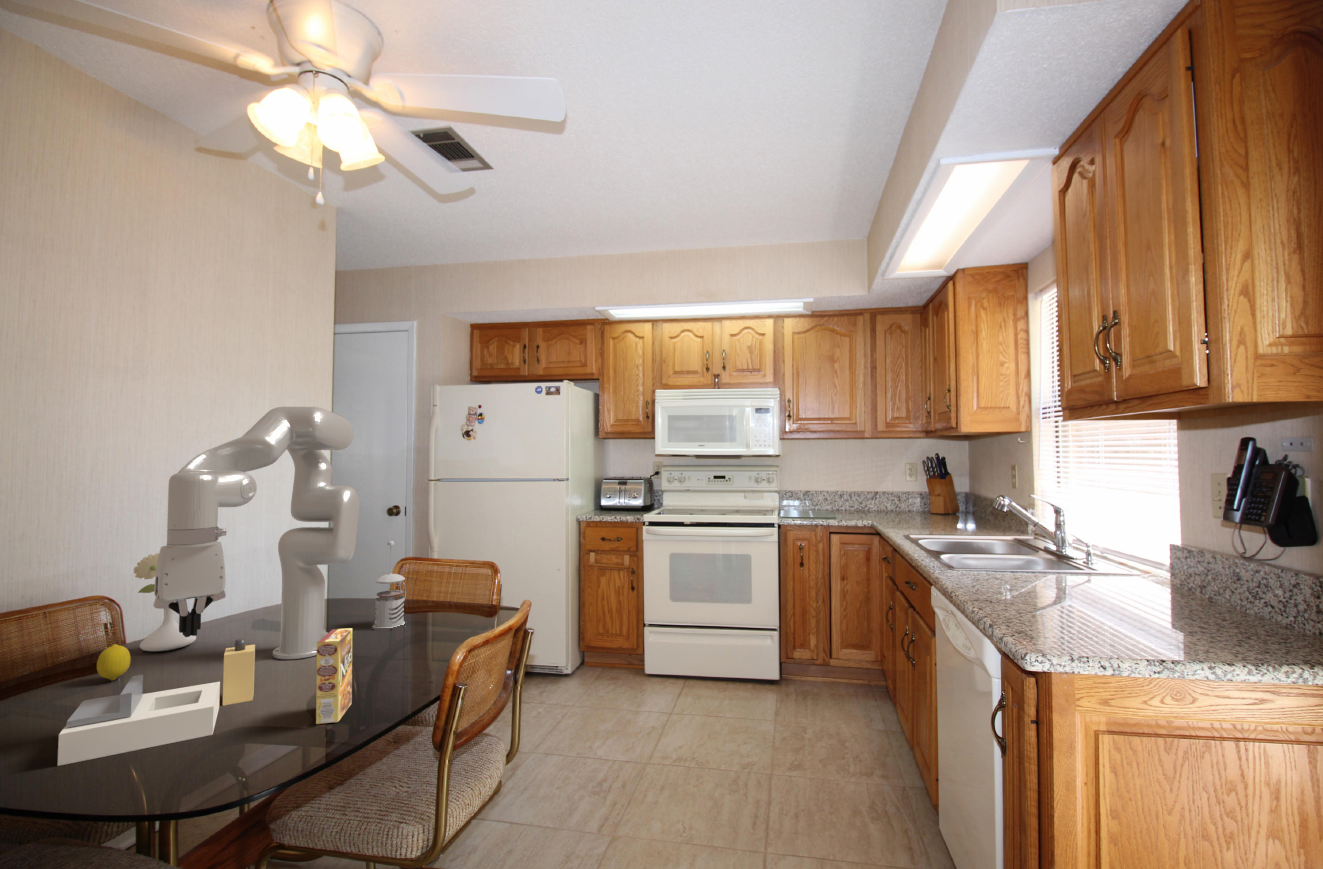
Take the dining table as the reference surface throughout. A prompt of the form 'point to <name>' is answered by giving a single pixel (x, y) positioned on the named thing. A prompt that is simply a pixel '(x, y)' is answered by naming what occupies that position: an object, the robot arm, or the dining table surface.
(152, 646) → the flower in vase
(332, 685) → the candy box
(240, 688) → the plug
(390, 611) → the french press
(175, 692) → the socket
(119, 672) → the lemon
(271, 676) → the dining table surface
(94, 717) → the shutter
